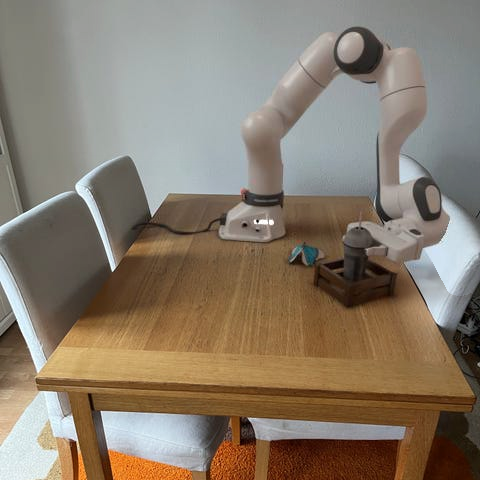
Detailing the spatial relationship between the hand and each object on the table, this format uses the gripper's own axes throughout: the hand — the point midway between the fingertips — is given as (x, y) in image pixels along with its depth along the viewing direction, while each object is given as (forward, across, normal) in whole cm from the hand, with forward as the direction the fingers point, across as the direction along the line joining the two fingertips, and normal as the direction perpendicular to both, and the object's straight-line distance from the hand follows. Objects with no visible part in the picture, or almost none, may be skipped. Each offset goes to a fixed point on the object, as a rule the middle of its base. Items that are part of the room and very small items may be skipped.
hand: (354, 245), depth 118 cm
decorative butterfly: (0, -22, +13) cm, 25 cm away
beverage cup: (-1, 0, +11) cm, 11 cm away
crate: (-1, 0, +12) cm, 12 cm away
